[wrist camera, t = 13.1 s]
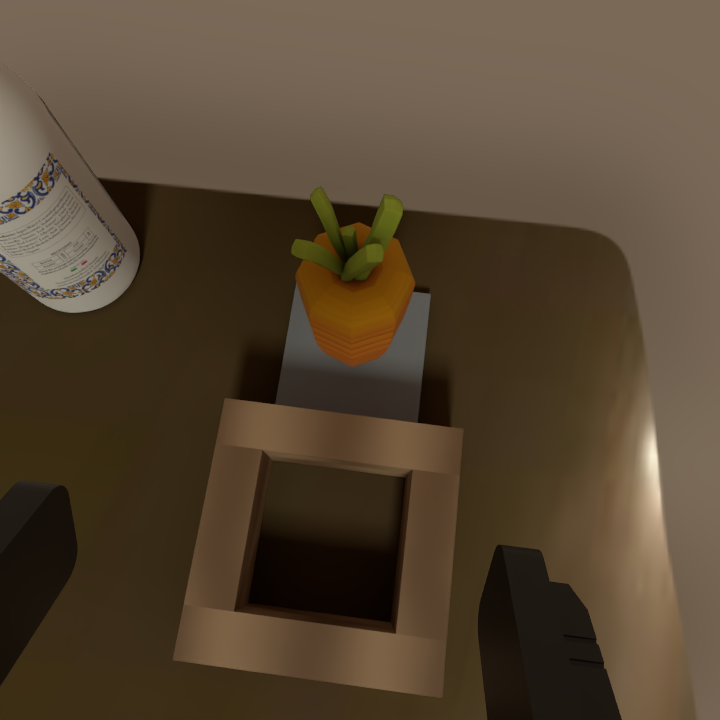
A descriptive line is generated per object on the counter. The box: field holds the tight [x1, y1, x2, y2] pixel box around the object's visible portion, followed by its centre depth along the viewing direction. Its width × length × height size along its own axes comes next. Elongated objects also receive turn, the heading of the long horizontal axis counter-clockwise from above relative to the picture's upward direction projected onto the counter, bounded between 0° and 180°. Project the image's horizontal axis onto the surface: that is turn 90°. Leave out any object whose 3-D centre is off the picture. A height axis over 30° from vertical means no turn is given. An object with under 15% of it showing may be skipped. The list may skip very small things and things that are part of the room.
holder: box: [173, 398, 463, 698], centre depth 30 cm, size 12×12×4 cm
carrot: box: [291, 187, 415, 367], centre depth 27 cm, size 5×5×15 cm
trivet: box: [275, 282, 431, 423], centre depth 35 cm, size 8×8×1 cm
